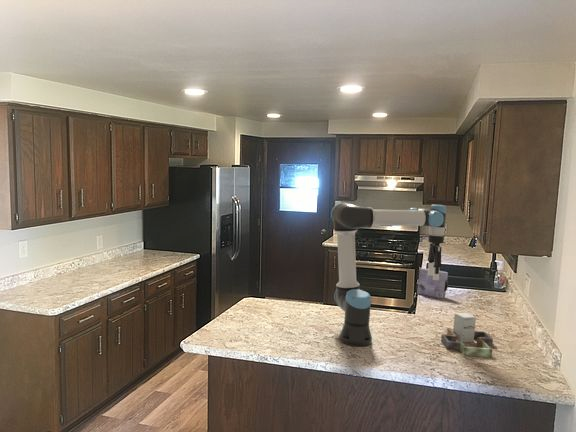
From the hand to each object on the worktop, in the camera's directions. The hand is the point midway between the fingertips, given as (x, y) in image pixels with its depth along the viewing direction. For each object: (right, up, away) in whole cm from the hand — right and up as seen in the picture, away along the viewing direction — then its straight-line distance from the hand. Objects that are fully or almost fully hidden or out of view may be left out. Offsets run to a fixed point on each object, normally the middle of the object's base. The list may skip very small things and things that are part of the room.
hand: (433, 277), depth 247 cm
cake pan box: (+22, -22, +76) cm, 83 cm away
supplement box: (+12, -30, -10) cm, 33 cm away
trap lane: (+11, -30, -18) cm, 37 cm away
